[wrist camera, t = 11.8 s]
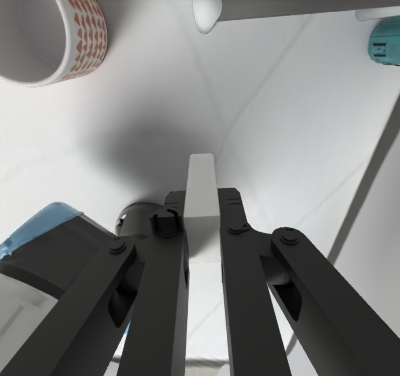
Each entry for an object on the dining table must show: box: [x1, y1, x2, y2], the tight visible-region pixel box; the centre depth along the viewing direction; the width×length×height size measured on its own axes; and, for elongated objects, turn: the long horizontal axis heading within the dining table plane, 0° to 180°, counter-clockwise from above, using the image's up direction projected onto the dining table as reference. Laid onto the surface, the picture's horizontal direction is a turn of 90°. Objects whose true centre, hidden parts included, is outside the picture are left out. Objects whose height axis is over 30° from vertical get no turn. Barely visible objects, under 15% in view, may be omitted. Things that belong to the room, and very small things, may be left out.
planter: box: [0, 0, 108, 87], centre depth 32 cm, size 14×14×13 cm
